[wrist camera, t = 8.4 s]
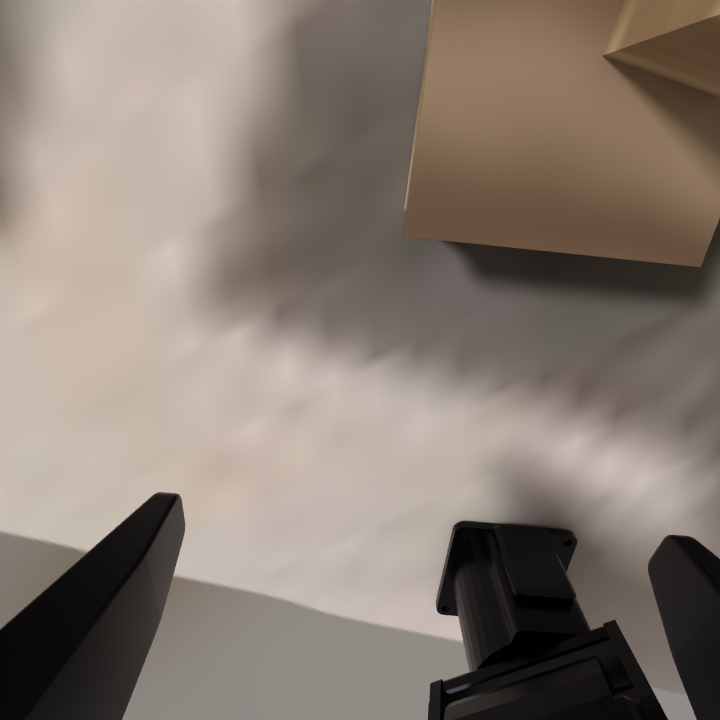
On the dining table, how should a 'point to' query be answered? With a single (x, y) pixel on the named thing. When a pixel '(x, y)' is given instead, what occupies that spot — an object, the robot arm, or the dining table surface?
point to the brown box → (558, 138)
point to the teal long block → (670, 40)
